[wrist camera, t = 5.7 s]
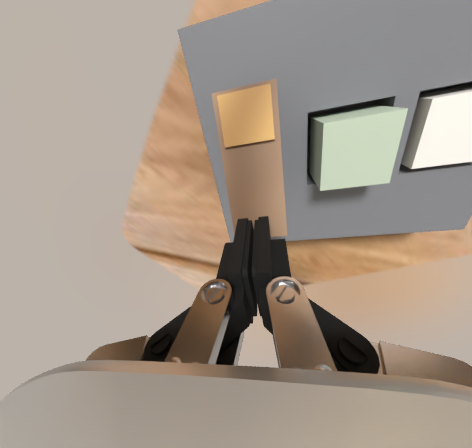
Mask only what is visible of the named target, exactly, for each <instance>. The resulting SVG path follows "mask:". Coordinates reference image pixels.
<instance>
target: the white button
mask: <svg viewBox="0 0 472 448" xmlns="http://www.w3.org/2000/svg"><path fill="white" fill-rule="evenodd" d="M464 162H472V85H462V86H456V87H451V88H446V89H440V90H435V91H430V92H425V93H420V94H419V98H418V101H417V105H416V109H415V112H414V116H413V120H412V124H411V127H410V131H409V135H408V138H407V142H406V146H405V150H404V153H403V157H402V161H401V164H402V165H404V166H406V167H408V168H410V169H416V168H424V167H432V166H440V165H448V164H456V163H464Z"/></svg>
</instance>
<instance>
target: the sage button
mask: <svg viewBox="0 0 472 448" xmlns="http://www.w3.org/2000/svg"><path fill="white" fill-rule="evenodd" d="M407 111H408V108H399V107H389V106H378V105H373V106H368V107H362V108H357V109H352V110H346V111H341V112H336V113H330V114H325V115H320V116H314V117H311V126H310V174H311V176H312V178H313V180H314V181H315V183H316V185H317V186H318V188H319V190H320V191H324V190H333V189H341V188H350V187H359V186H368V185H377V184H385V183H390V179H391V175H392V171H393V167H394V163H395V159H396V155H397V151H398V147H399V143H400V139H401V135H402V131H403V127H404V123H405V119H406V115H407Z"/></svg>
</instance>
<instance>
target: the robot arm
mask: <svg viewBox="0 0 472 448" xmlns="http://www.w3.org/2000/svg"><path fill="white" fill-rule="evenodd" d="M257 303H258V308H259V313H260V316H262V319H263V324H264V327H265V328H266V329H267V330H269V332H270V333H272V334H273V339H274V345H275V350H276V355H277V361H278V366H279V368H270V367H252V366H237V365H238V360H239V356H240V350H241V346H242V342H243V338H244V330H245V329H246V328H247V327H249V325H250V323H253V316H257ZM0 448H472V366H470V365H468V364H467V363H465V362H463V361H460V360H457V359H455V358H452V357H447V356H442V355H439V354H434V353H430V352H425V351H421V350H417V349H412V348H408V347H404V346H400V345H395V344H391V343H386V342H382V341H380V342H379V343H375V342H370V341H368V340H367V339H366V338H365V337H363V336H362V335H361V334H359V333H358V332H356V331H355V330H354V329H352V328H351V327H349V326H348V325H346V324H345V323H343V322H342V321H341V320H339V319H338V318H336V317H335V316H333V315H332V314H330V313H329V312H327V311H326V310H324V309H323V308H322V307H320V306H319V305H317V304H316V303H314V302H313V301H311V300H310V299H308V298H307V295H306V293H305V290H304V288H303V286H302V285H301V283H300V282H298V281H297V280H296V279H294V278H291V273H290V267H289V260H288V254H287V248H286V241H285V239H272V240H271V235H270V226H269V217H268V216H263V217H258V220H255V223H254V229H253V223H252V220H248V218H242V219H238V220H237V225H236V230H235V235H234V240H233V242H231V243H225V246H224V250H223V254H222V258H221V262H220V266H219V270H218V274H217V278H216V279H214V280H210V281H208V282H207V283H205V284H204V285H203V286H202V287H201V288H200V290H199V292H198V294H197V296H196V298H195V300H194V302H193V304H192V306H191V307H189V308H188V309H187V310H186V311H184V312H183V313H181V314H180V315H179V316H177V317H176V318H174V319H173V320H172V321H170V322H169V323H168V324H166V325H165V326H164V327H162V328H161V329H160V330H158V331H157V332H156V333H154V334H153V335H152V336H151V337H148V336H147V335H146V336H142V337H137V338H133V339H129V340H125V341H120V342H116V343H112V344H107V345H104V346H102V347H99V348H98V349H96V350H95V351H94V352H92V353H91V355H90V356H89V357H88V358H87V359H86V361H82V362H75V363H71V364H67V365H63V366H60V367H57V368H54V369H52V370H49V371H47V372H44V373H42V374H40V375H38V376H36V377H34V378H32V379H30V380H28V381H26V382H25V383H23V384H21V385H20V386H18V387H17V388H16V389H14V390H13V391H12V392H10V393H9V394H8V395H7V396H6V397H5V398H4V399H3V400H1V402H0Z"/></svg>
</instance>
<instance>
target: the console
mask: <svg viewBox="0 0 472 448" xmlns="http://www.w3.org/2000/svg"><path fill="white" fill-rule="evenodd" d="M178 34H179V38H180V42H181V46H182V50H183V54H184V58H185V62H186V66H187V70H188V74H189V78H190V82H191V86H192V90H193V94H194V98H195V102H196V106H197V110H198V114H199V118H200V122H201V126H202V130H203V134H204V138H205V141H206V145H207V149H208V153H209V157H210V161H211V165H212V169H213V173H214V177H215V181H216V185H217V189H218V193H219V197H220V201H221V205H222V209H223V213H224V217H225V221H226V225H227V229H228V233H229V237H230V241H231V242H233V240H234V229H233V223H232V217H231V211H230V205H229V198H228V192H227V186H226V180H225V174H224V168H223V162H222V155H221V149H220V143H219V137H218V131H217V125H216V119H215V112H214V106H213V100H212V93H216V92H220V91H225V90H229V89H233V88H238V87H242V86H246V85H250V84H255V83H259V82H263V81H268V80H272V79H277V93H278V108H279V122H280V136H281V151H282V165H283V179H284V194H285V208H286V222H287V236H276V237H271V240H272V239H285V241H296V240H311V239H325V238H340V237H355V236H370V235H385V234H400V233H414V232H429V231H444V230H459V229H464V228H465V226H466V224H467V223H468V221H469V219H470V217H471V215H472V162H464V163H456V164H448V165H440V166H432V167H424V168H416V169H410V168H408V167H406V166H404V165H402V164H401V161H402V157H403V153H404V150H405V146H406V142H407V138H408V135H409V131H410V127H411V124H412V120H413V116H414V112H415V109H416V105H417V101H418V98H419V94H420V93H425V92H430V91H435V90H440V89H446V88H451V87H456V86H462V85H472V0H271V1H268V2H265V3H261V4H258V5H255V6H252V7H249V8H245V9H242V10H239V11H236V12H233V13H229V14H226V15H223V16H220V17H217V18H213V19H210V20H207V21H204V22H201V23H197V24H194V25H191V26H188V27H185V28H181V29H178ZM373 105H378V106H389V107H399V108H408V111H407V115H406V119H405V123H404V127H403V131H402V135H401V139H400V143H399V147H398V151H397V155H396V159H395V163H394V167H393V171H392V175H391V179H390V183H385V184H377V185H368V186H359V187H350V188H341V189H333V190H324V191H320V190H319V188H318V186H317V185H316V183H315V181H314V180H313V178H312V176H311V174H310V126H311V117H314V116H320V115H325V114H330V113H336V112H341V111H346V110H352V109H357V108H362V107H368V106H373Z"/></svg>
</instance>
